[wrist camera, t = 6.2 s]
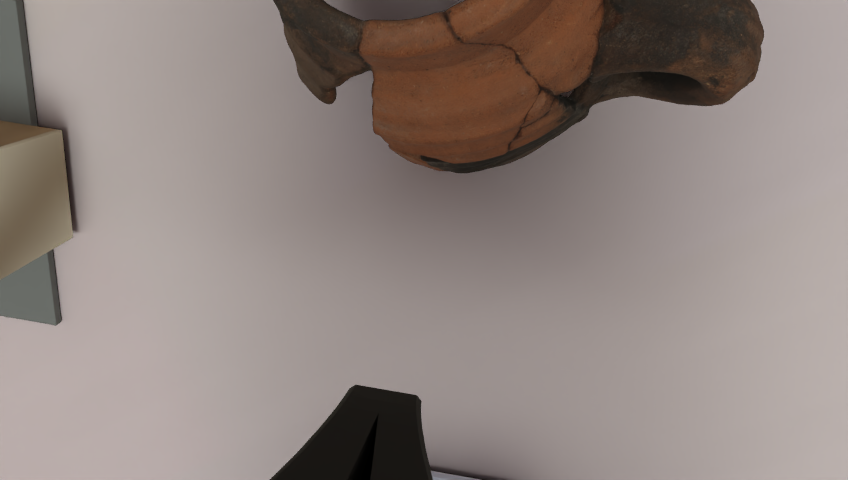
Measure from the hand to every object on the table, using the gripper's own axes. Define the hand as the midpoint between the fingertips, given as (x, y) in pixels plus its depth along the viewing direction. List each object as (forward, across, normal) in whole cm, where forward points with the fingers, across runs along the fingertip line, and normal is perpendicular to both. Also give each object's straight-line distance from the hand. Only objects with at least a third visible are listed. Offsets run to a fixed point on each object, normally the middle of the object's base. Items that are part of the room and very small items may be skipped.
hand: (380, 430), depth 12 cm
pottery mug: (+10, -1, -8) cm, 13 cm away
